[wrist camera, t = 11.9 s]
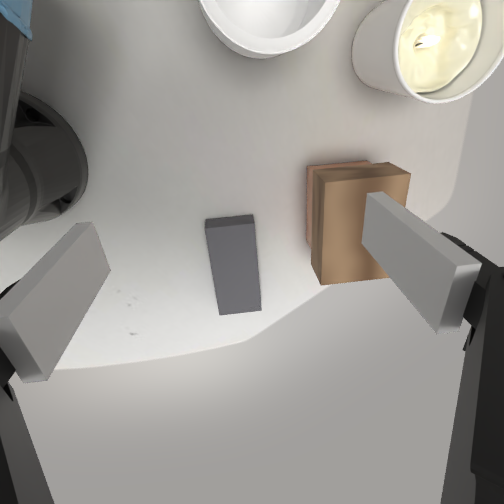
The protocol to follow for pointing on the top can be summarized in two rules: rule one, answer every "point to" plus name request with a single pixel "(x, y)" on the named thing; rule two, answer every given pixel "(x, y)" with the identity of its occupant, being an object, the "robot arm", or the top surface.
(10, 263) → the top surface
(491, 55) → the candle holder
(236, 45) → the jar
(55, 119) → the robot arm
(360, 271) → the brown wooden block
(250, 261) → the block
